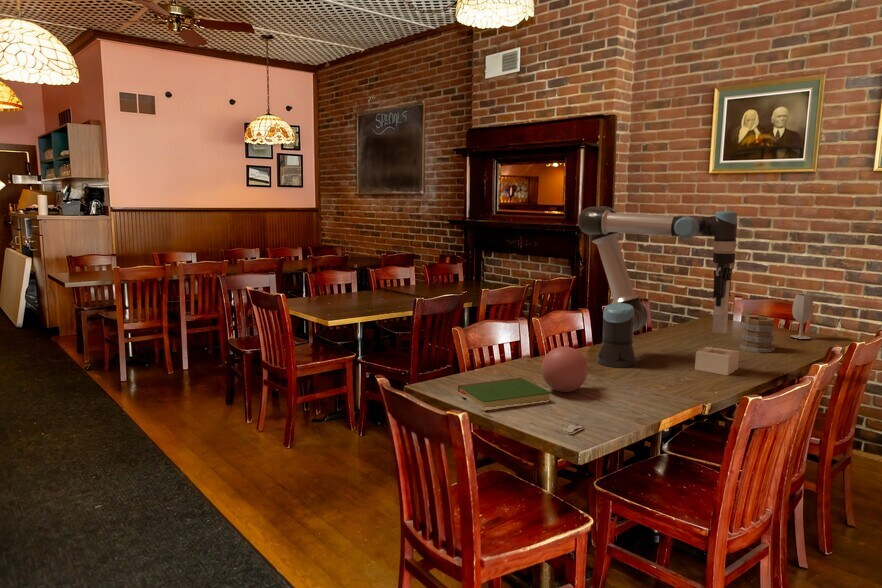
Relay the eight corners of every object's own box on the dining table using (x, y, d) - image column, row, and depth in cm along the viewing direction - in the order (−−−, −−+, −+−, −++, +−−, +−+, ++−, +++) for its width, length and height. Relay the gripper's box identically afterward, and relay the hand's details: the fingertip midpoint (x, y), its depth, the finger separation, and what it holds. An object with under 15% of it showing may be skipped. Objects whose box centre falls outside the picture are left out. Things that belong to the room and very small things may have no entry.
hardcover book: (521, 387, 217) (521, 377, 217) (550, 403, 200) (550, 392, 200) (456, 396, 208) (456, 385, 207) (481, 413, 190) (481, 402, 190)
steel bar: (723, 333, 234) (726, 281, 232) (712, 332, 237) (715, 280, 234) (726, 332, 237) (730, 280, 235) (716, 330, 240) (719, 279, 237)
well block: (727, 375, 231) (728, 357, 230) (694, 369, 239) (695, 351, 238) (737, 369, 240) (739, 351, 239) (706, 363, 248) (707, 346, 247)
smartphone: (541, 415, 186) (585, 426, 176) (541, 418, 187) (585, 430, 176) (526, 421, 181) (570, 433, 171) (526, 425, 181) (570, 436, 171)
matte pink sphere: (606, 391, 212) (608, 347, 210) (562, 400, 201) (564, 354, 199) (574, 380, 225) (575, 338, 222) (531, 389, 214) (532, 345, 212)
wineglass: (785, 337, 297) (788, 294, 294) (799, 336, 300) (803, 293, 297) (800, 341, 289) (804, 296, 286) (815, 340, 291) (819, 295, 288)
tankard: (778, 353, 266) (781, 318, 264) (748, 352, 266) (751, 318, 264) (756, 342, 286) (758, 310, 284) (728, 342, 286) (730, 310, 284)
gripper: (727, 254, 224) (723, 318, 228) (742, 251, 237) (738, 312, 240) (705, 253, 229) (702, 315, 233) (721, 250, 242) (718, 310, 245)
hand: (720, 313), depth 236 cm, fingers closed on steel bar, 4 cm apart
